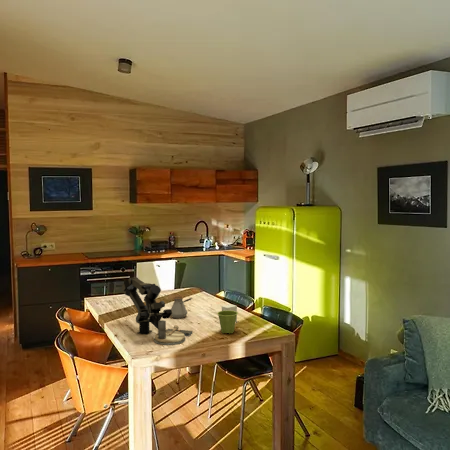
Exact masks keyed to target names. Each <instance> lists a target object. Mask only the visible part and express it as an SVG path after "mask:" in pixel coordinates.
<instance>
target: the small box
mask: <svg viewBox="0 0 450 450" xmlns="http://www.w3.org/2000/svg"><path fill="white" fill-rule="evenodd" d="M226 310H229V311H236V312H238V306H237V305H235V304H230V303H229V304H227V305H222V306H221V311H226ZM236 323H238V316H237V317H236Z"/></svg>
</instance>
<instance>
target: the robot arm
mask: <svg viewBox="0 0 450 450" xmlns="http://www.w3.org/2000/svg"><path fill="white" fill-rule="evenodd" d="M137 290H138V292H139V293H138V292H137ZM121 291H122V293H123V294H124V295H125V296H127V297H129V298H130V300H131V301H132V303H133V305H134V306H135V309H136V310H137V315H136V316H135V322H136V323H137V324H139V326H138V329H139V331H137V332H136V334H139V335H140V334H141V335H148V334H150V333H151V332H153V330H151V328H150V324H152V325H153V326H154V327H155V329H157V330H158V321H161V320H162V319H164V320H165V319H170V318H171V317H172V316H171V314H172V310H171V308H168V309H164V310H163V311H161V310H162V309H163V308H165V307H166V303H165V300H161V301H158V302H157V300H156V299H158V297H159V295H160V293H161V291H162V288H161V287H160V286H159V285H157V284H156V283H149V282H143V281H142V280H140V279H139V277H129V278H128V280H126V281H125V282H124V283H123V284H122V286H121ZM140 295H141V296H144V298H143V300H142V298H141V297H140ZM144 302H145V303H144Z"/></svg>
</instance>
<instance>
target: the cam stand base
mask: <svg viewBox="0 0 450 450" xmlns="http://www.w3.org/2000/svg"><path fill="white" fill-rule="evenodd" d="M173 329H174V328H167V329H166V331H172V330H173ZM175 331H177V332H181V333H184V335H185V338H184V339H183V340H182V341H179V342H173V343H163V342H158V341H156V340H155V337H154V338H153V342H154V343H155V344H157V345H162V346H173V345H174V346H175V345H180V344H182V343H185V341H186V337H190V336H192V335H193V330H187V329H178V330H175ZM191 334H192V335H191Z"/></svg>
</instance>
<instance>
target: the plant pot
mask: <svg viewBox="0 0 450 450" xmlns="http://www.w3.org/2000/svg"><path fill="white" fill-rule="evenodd" d="M216 314H217V316H218V320H219V326H220V331H221V333H222V334H224V333H229V334H233V332H234V333H235V327H236V323H237V322H236V317H237V318H238V314H239V312H238V311H237V312H236V311H229V310H226V311H222V310H220V311H218V312H217V313H216ZM235 322H236V323H235Z"/></svg>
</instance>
